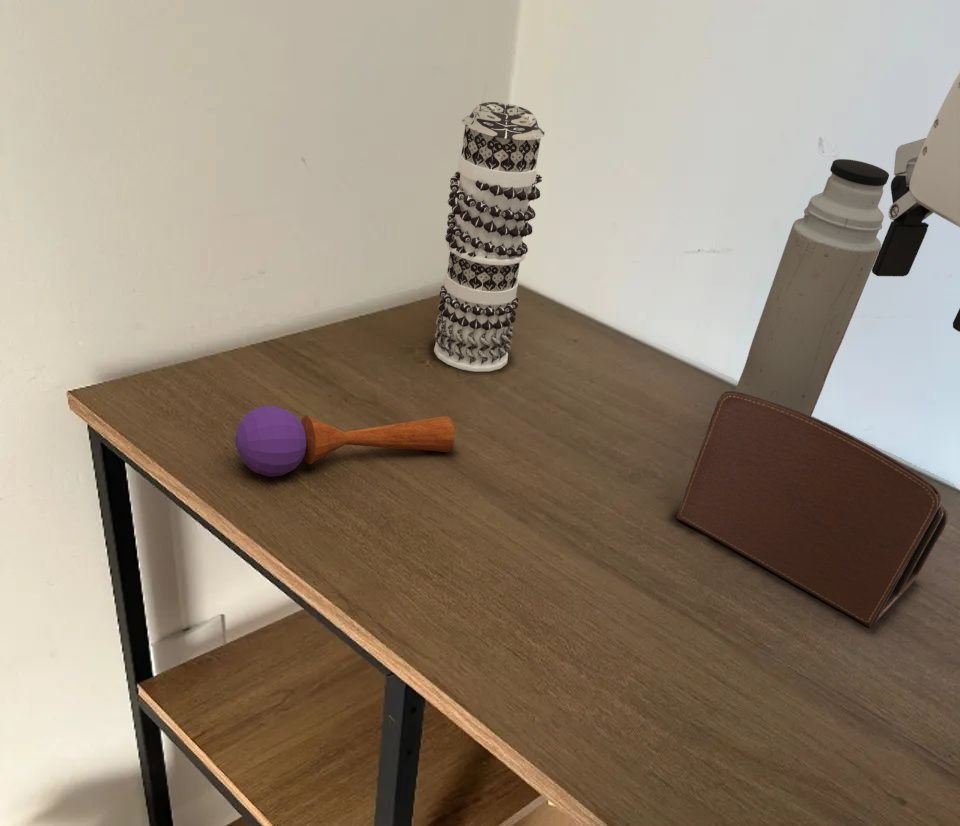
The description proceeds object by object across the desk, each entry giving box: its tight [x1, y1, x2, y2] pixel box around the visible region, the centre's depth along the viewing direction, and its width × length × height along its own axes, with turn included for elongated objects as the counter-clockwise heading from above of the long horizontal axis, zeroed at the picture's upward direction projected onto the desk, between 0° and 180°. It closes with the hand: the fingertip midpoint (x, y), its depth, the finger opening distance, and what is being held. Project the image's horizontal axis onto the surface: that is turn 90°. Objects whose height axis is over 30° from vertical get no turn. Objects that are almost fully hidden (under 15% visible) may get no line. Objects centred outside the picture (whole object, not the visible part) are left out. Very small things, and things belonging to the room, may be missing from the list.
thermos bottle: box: [734, 158, 890, 417], centre depth 92 cm, size 8×8×28 cm
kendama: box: [234, 405, 456, 478], centre depth 86 cm, size 6×6×20 cm
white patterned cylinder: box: [433, 101, 545, 373], centre depth 100 cm, size 9×9×25 cm
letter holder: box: [676, 390, 949, 629], centre depth 83 cm, size 10×20×14 cm, turn 49°
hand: (927, 301), depth 73 cm, fingers open, 9 cm apart
